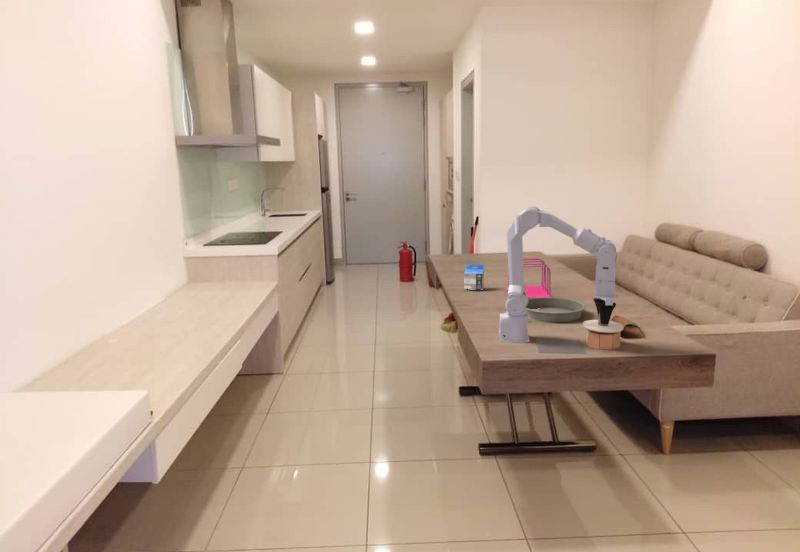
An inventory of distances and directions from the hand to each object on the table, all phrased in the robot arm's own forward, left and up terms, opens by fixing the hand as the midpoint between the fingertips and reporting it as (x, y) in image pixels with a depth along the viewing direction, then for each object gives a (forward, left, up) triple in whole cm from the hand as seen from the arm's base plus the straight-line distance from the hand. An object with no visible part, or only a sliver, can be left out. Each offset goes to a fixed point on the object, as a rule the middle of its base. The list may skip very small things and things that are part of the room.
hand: (603, 322), depth 175 cm
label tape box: (-42, +83, -8) cm, 94 cm away
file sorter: (-18, +74, -8) cm, 76 cm away
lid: (0, 0, -2) cm, 2 cm away
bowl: (0, 0, -8) cm, 8 cm away
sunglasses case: (+12, +17, -8) cm, 22 cm away
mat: (-13, -3, -8) cm, 16 cm away
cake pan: (-11, +38, -8) cm, 41 cm away
